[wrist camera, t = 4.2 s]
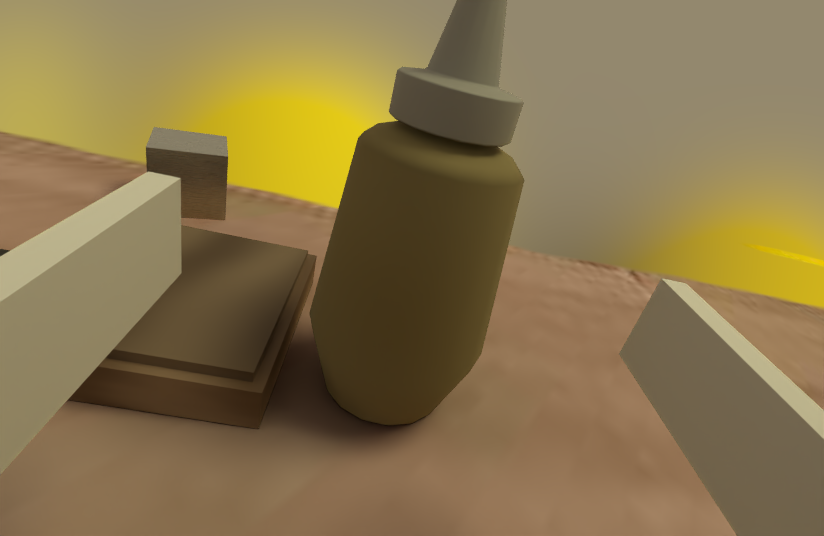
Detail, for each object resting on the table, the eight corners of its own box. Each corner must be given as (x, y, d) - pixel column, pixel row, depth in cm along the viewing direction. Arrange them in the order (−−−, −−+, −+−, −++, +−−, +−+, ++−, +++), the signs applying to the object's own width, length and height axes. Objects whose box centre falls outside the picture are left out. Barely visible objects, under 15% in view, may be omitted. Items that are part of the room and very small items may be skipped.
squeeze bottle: (445, 340, 27) (557, -1, 19) (476, 455, 20) (677, -8, 12) (307, 324, 25) (365, -57, 17) (290, 443, 18) (372, -104, 10)
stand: (312, 283, 29) (317, 248, 28) (258, 428, 19) (262, 383, 18) (117, 245, 28) (114, 207, 27) (-61, 379, 17) (-78, 327, 16)
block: (224, 195, 38) (226, 136, 36) (225, 221, 34) (227, 156, 32) (156, 190, 36) (153, 127, 34) (148, 216, 32) (146, 147, 30)
